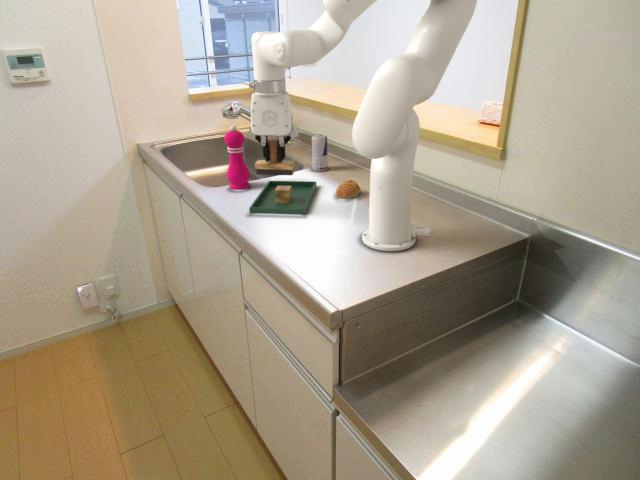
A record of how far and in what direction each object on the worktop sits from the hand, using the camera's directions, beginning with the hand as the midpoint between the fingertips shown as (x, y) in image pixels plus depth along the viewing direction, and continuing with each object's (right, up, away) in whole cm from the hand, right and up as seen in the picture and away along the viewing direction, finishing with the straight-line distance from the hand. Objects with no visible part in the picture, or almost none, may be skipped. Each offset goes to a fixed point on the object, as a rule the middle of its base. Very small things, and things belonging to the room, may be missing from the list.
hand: (274, 159), depth 118 cm
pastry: (+20, -8, +18) cm, 28 cm away
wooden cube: (+1, -10, +13) cm, 16 cm away
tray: (+2, -9, +15) cm, 18 cm away
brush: (0, -3, +2) cm, 4 cm away
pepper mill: (-14, -5, +26) cm, 30 cm away
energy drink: (+12, +4, +43) cm, 44 cm away
